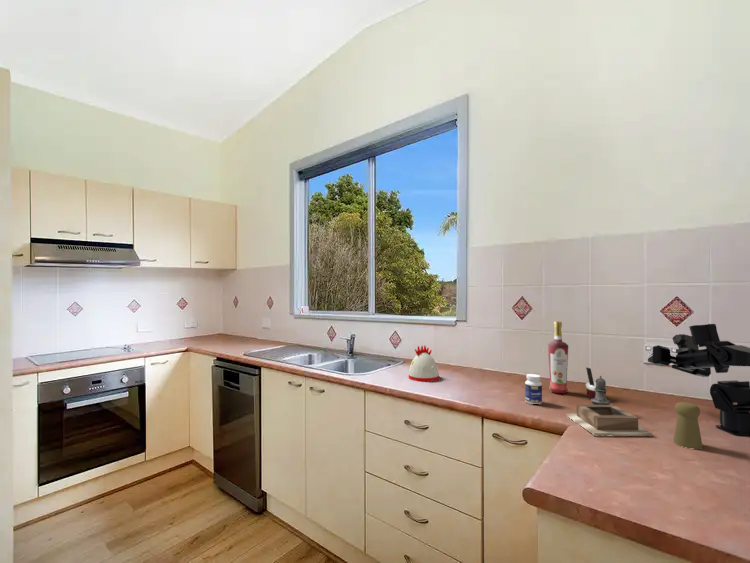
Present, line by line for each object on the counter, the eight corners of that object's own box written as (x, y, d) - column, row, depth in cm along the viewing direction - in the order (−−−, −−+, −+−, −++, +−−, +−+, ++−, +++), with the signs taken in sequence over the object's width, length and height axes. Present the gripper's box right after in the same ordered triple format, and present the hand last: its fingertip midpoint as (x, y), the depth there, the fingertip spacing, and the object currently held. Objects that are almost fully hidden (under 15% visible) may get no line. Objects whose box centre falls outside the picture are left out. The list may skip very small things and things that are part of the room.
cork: (673, 437, 104) (673, 398, 104) (702, 443, 100) (701, 402, 100) (673, 445, 99) (672, 403, 99) (703, 451, 96) (702, 408, 96)
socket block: (651, 436, 105) (651, 420, 105) (594, 436, 105) (593, 420, 105) (616, 416, 121) (616, 402, 121) (566, 416, 121) (566, 402, 121)
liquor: (550, 394, 145) (549, 322, 146) (546, 389, 153) (545, 320, 153) (571, 395, 144) (570, 322, 144) (566, 390, 151) (565, 321, 151)
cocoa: (600, 396, 143) (600, 365, 144) (612, 401, 137) (612, 368, 138) (577, 396, 142) (577, 365, 143) (589, 401, 136) (589, 368, 136)
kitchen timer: (404, 375, 177) (403, 344, 177) (430, 373, 181) (430, 342, 181) (416, 383, 164) (415, 348, 164) (444, 380, 168) (443, 347, 168)
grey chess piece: (614, 414, 123) (613, 378, 123) (594, 413, 124) (594, 377, 124) (606, 408, 128) (606, 374, 128) (588, 407, 129) (587, 373, 130)
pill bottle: (532, 405, 132) (531, 377, 132) (521, 401, 137) (521, 374, 138) (545, 404, 133) (545, 376, 134) (534, 399, 139) (534, 372, 139)
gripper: (727, 341, 121) (683, 347, 136) (673, 327, 120) (635, 335, 135) (729, 375, 118) (684, 378, 132) (674, 361, 117) (635, 365, 132)
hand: (660, 363), depth 133 cm, fingers open, 9 cm apart
